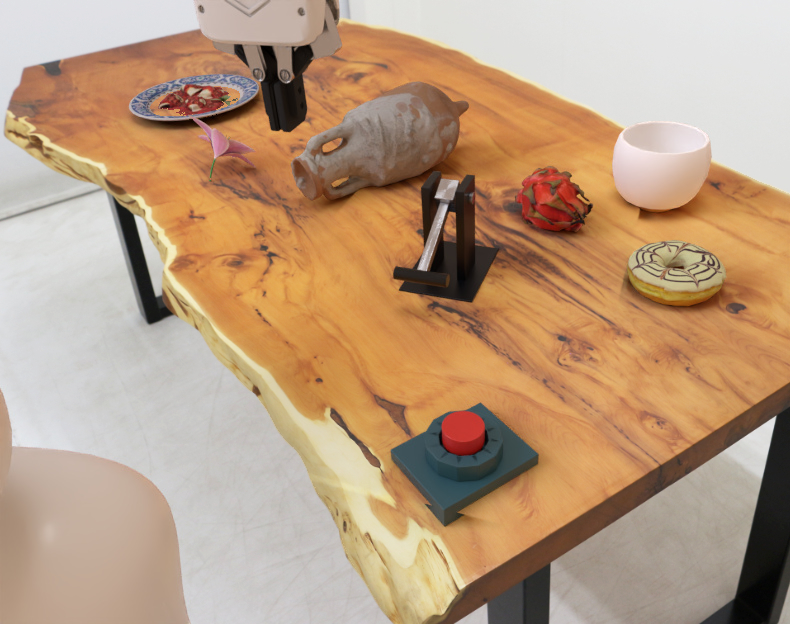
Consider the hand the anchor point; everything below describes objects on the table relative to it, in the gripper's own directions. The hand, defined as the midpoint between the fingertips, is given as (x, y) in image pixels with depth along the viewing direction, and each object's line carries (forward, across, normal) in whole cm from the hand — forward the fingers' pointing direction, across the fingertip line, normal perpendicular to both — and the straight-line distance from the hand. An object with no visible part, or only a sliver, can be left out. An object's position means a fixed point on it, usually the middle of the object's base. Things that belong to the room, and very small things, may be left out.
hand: (288, 125), depth 58 cm
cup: (+27, +28, +46) cm, 60 cm away
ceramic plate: (+27, -62, +67) cm, 95 cm away
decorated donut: (+27, +32, +26) cm, 49 cm away
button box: (+27, +17, -8) cm, 33 cm away
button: (+23, +17, -8) cm, 30 cm away
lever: (+19, +6, +17) cm, 26 cm away
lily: (+27, -38, +41) cm, 62 cm away
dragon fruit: (+27, +16, +36) cm, 48 cm away
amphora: (+27, -11, +45) cm, 54 cm away
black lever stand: (+27, +6, +21) cm, 35 cm away
